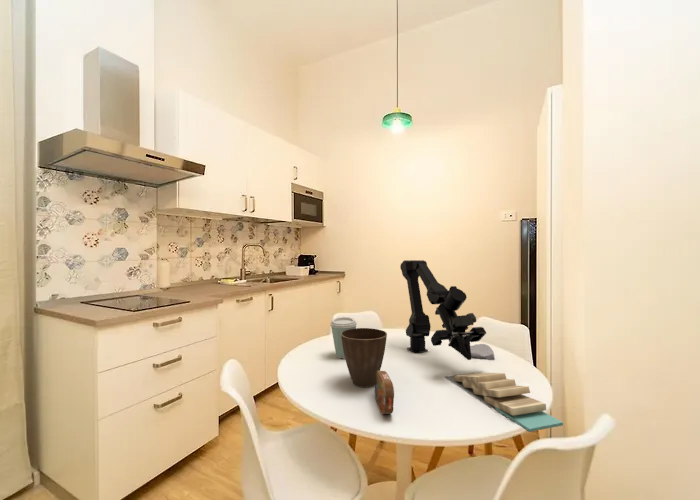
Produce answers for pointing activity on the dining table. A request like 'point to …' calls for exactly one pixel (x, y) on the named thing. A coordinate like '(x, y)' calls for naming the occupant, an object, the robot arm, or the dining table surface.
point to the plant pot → (363, 354)
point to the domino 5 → (533, 420)
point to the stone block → (482, 351)
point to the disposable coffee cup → (338, 327)
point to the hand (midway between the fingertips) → (469, 359)
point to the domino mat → (468, 390)
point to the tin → (384, 392)
